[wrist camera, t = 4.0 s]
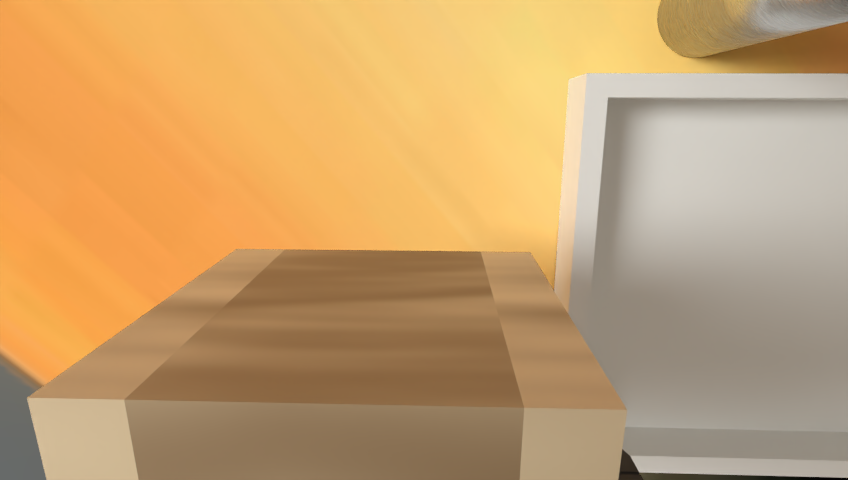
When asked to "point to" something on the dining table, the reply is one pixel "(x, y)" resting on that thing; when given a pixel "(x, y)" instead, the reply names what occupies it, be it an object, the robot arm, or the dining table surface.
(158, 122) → the dining table surface
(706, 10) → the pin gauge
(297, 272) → the wooden box
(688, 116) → the tray
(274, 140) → the dining table surface
